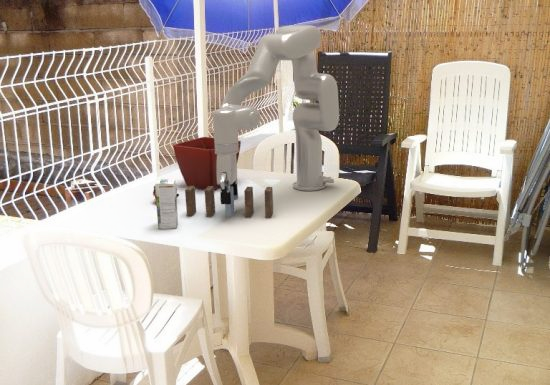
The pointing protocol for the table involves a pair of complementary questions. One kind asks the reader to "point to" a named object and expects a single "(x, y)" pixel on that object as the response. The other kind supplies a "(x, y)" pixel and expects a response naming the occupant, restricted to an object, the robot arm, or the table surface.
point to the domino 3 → (230, 205)
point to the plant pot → (198, 162)
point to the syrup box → (166, 203)
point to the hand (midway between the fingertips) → (229, 199)
